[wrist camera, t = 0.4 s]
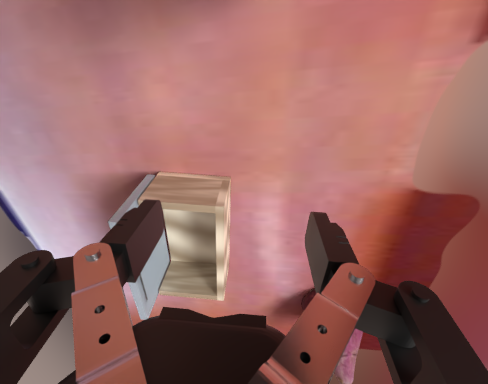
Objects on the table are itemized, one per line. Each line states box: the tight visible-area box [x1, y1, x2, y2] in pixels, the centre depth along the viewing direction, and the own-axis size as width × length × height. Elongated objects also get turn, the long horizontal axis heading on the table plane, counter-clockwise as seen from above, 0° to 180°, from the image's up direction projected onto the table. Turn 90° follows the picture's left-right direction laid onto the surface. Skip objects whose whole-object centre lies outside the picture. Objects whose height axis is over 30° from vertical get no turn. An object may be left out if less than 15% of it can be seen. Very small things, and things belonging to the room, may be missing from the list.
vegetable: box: [302, 289, 363, 384], centre depth 43 cm, size 10×10×15 cm
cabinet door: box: [108, 174, 170, 320], centre depth 34 cm, size 18×1×10 cm, turn 177°
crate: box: [138, 172, 231, 301], centre depth 36 cm, size 18×10×7 cm, turn 177°
